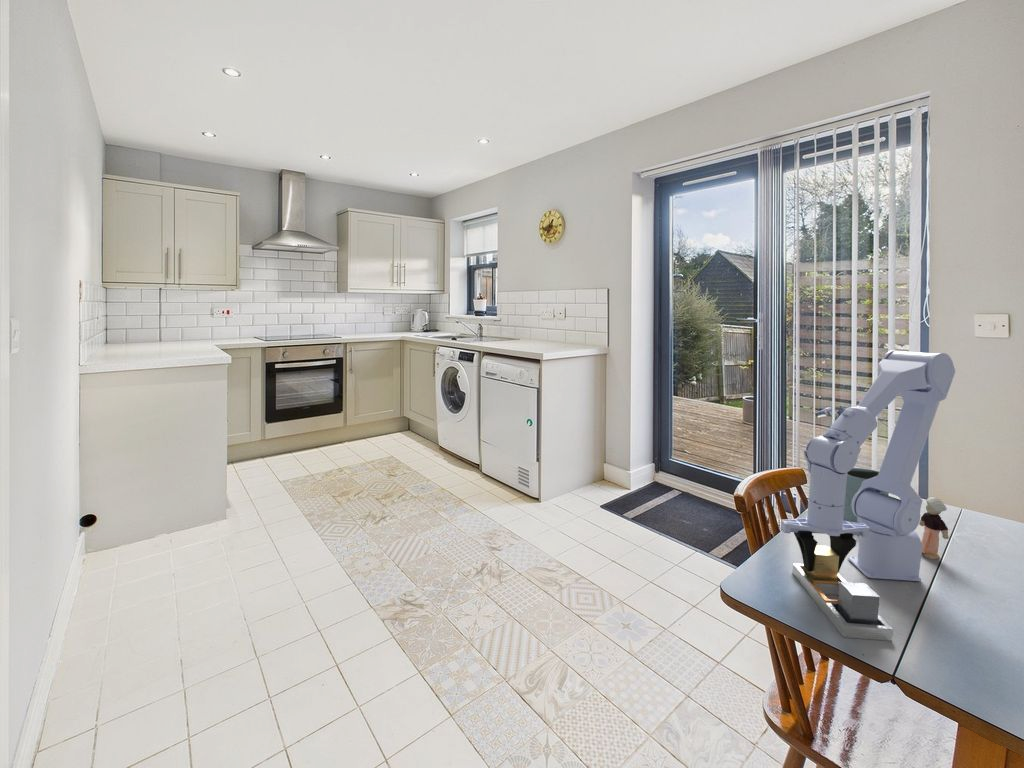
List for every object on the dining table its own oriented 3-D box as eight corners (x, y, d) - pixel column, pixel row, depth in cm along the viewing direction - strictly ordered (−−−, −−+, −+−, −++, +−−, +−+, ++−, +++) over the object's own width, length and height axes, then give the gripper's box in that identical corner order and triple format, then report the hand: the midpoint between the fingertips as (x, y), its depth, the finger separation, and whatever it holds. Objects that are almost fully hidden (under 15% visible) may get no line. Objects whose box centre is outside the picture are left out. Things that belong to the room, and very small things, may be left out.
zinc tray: (830, 575, 97) (831, 564, 97) (891, 641, 78) (893, 628, 77) (792, 572, 98) (793, 562, 98) (843, 637, 79) (844, 624, 78)
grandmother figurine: (905, 547, 109) (911, 492, 107) (921, 546, 109) (927, 491, 107) (937, 564, 101) (944, 505, 99) (955, 564, 101) (962, 504, 100)
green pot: (832, 519, 123) (836, 473, 122) (844, 508, 130) (848, 464, 129) (882, 532, 116) (887, 483, 114) (891, 520, 123) (896, 473, 121)
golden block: (826, 577, 96) (828, 546, 95) (836, 588, 92) (839, 556, 91) (804, 576, 97) (806, 544, 96) (813, 587, 93) (815, 554, 92)
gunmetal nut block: (862, 619, 83) (865, 583, 82) (876, 634, 79) (879, 596, 78) (836, 617, 84) (839, 581, 83) (848, 632, 80) (852, 594, 79)
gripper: (793, 507, 89) (788, 577, 91) (881, 511, 87) (874, 583, 89) (778, 493, 96) (774, 559, 98) (859, 496, 94) (853, 563, 96)
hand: (820, 569), depth 94 cm, fingers closed on golden block, 4 cm apart
